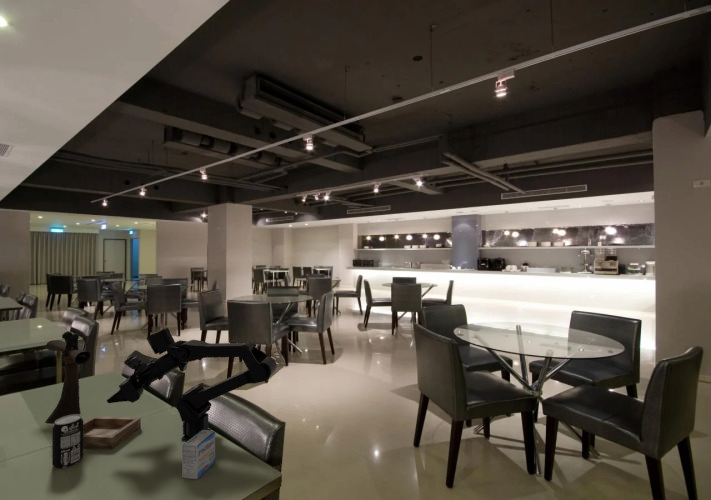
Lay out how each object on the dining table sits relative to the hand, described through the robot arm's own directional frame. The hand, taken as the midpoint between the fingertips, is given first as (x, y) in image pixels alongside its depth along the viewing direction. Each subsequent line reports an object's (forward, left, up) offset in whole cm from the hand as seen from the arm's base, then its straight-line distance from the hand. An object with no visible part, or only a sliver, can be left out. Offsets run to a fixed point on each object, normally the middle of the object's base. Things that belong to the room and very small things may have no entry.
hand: (113, 394), depth 108 cm
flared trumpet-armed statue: (+30, -14, -14) cm, 36 cm away
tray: (+5, -1, -14) cm, 15 cm away
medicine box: (-34, +13, -15) cm, 39 cm away
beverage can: (+4, +12, -15) cm, 19 cm away
